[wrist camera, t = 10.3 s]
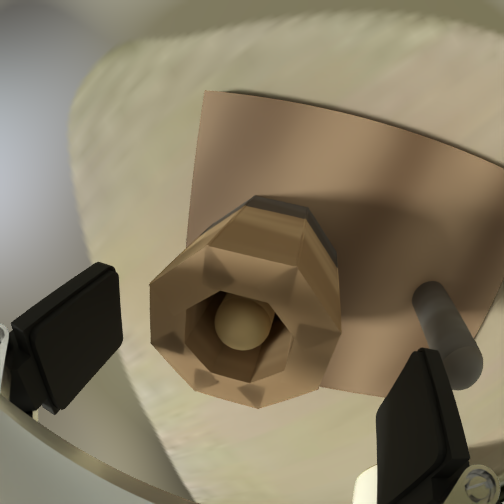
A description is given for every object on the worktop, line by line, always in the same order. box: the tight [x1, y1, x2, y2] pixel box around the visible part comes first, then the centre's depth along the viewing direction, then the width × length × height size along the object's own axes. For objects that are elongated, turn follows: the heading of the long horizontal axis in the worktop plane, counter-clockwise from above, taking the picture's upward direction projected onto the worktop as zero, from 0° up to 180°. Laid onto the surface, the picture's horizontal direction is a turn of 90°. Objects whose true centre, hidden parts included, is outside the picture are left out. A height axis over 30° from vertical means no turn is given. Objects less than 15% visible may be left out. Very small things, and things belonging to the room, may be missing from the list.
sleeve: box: [149, 195, 342, 409], centre depth 12 cm, size 6×6×6 cm
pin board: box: [186, 90, 504, 398], centre depth 12 cm, size 16×14×7 cm
